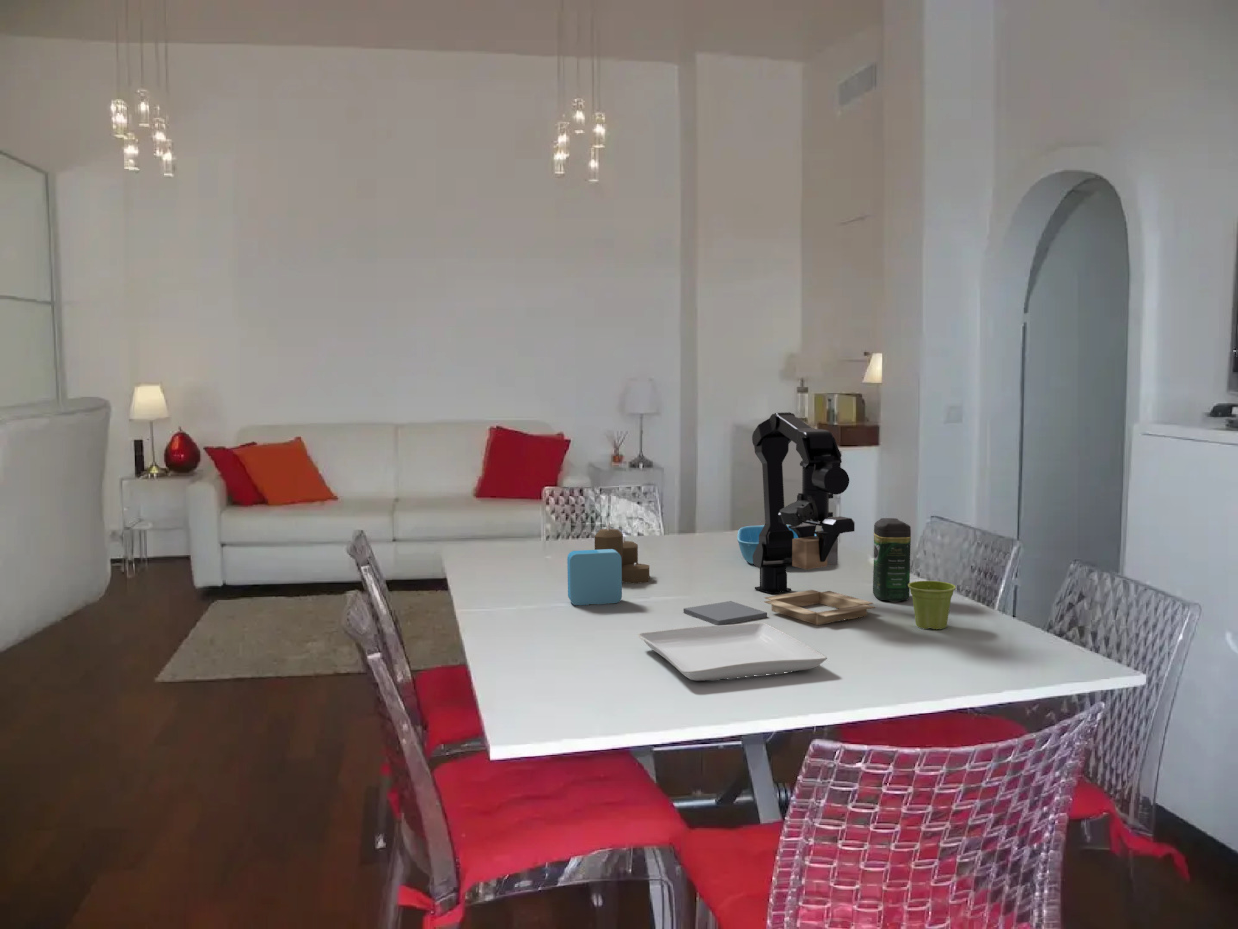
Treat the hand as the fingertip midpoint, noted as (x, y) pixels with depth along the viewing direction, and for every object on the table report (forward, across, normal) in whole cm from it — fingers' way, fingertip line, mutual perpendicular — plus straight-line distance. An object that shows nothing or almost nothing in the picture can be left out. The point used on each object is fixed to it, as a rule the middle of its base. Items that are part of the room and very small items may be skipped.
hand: (814, 559), depth 223 cm
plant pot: (+12, +22, +13) cm, 28 cm away
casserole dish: (+13, -55, +36) cm, 67 cm away
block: (+1, 0, 0) cm, 1 cm away
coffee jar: (+12, -1, +25) cm, 28 cm away
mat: (+12, -10, -17) cm, 23 cm away
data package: (+12, -36, -35) cm, 52 cm away
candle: (+12, -55, -17) cm, 59 cm away
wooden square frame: (+12, 0, +1) cm, 12 cm away
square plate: (+12, +18, -37) cm, 43 cm away
